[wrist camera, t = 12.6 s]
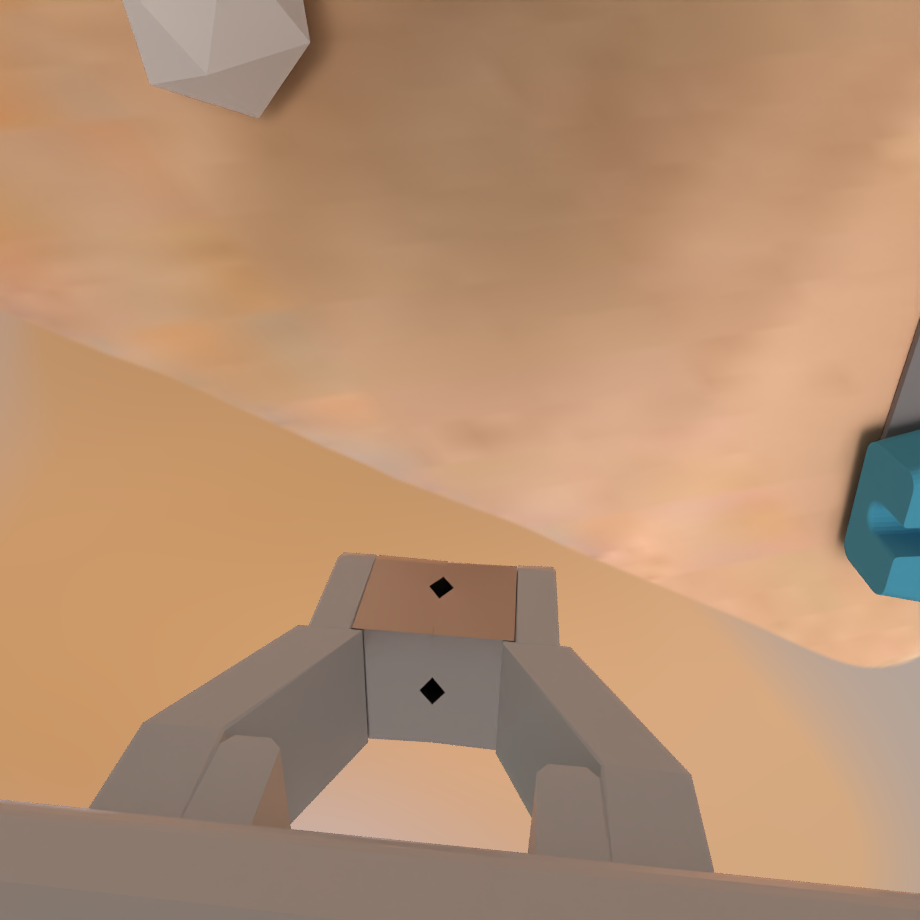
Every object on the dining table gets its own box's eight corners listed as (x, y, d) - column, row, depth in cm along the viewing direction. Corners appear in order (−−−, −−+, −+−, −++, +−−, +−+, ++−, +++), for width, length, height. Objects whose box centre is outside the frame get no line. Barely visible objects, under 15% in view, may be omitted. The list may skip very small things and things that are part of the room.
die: (314, -102, 34) (112, -211, 27) (379, 47, 33) (187, -24, 26) (238, 28, 39) (53, -33, 32) (292, 160, 38) (113, 127, 31)
